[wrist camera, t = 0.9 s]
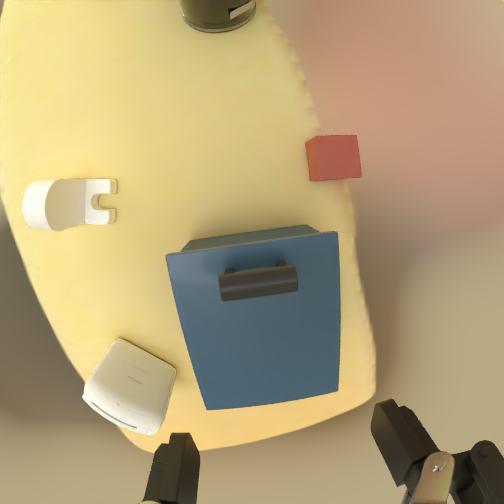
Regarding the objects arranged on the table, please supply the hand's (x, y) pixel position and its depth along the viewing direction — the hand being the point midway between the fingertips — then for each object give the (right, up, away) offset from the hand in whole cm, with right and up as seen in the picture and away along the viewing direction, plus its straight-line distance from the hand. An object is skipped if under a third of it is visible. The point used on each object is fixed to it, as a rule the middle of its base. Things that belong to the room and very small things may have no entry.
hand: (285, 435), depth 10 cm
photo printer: (-17, -8, +25) cm, 31 cm away
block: (+7, +18, +20) cm, 28 cm away
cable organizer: (-23, +14, +20) cm, 33 cm away
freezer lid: (0, +1, +14) cm, 14 cm away
